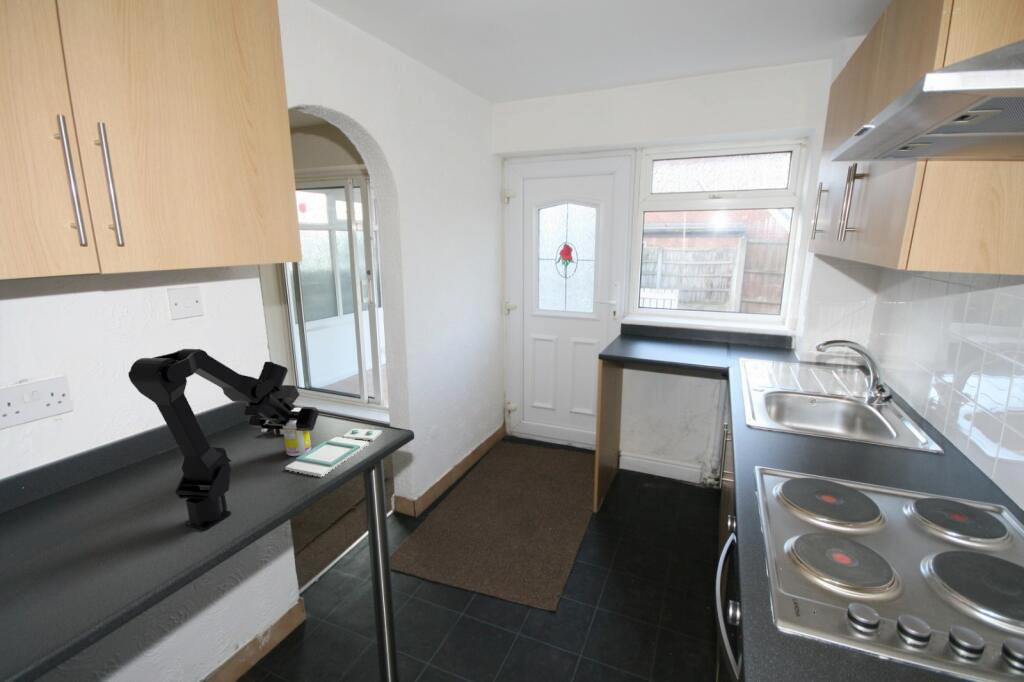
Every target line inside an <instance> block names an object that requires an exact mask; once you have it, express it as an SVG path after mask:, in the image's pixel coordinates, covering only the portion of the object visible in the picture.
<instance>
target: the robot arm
mask: <svg viewBox="0 0 1024 682" xmlns="http://www.w3.org/2000/svg"><path fill="white" fill-rule="evenodd" d="M288 372H289V369H288V368H287V367H286V366H283V365H281V364H278V363H274V362H273V361H264V364H263V366H262V370H261V372H260V374H259V377H258V378H256V377H254V376H249V375H244V374H241V373H238V372H236V371H235V370H234V369H232V368H230V367H228V366H227V365H225V364H224V363H222V362H220V361H218V360H217V359H216V358H214V357H212V356H210V355H209V354H208V352H206V351H205V350H203V349H202V348H201V349H200V348H182V349H180V350H177V351H175V352H171V353H166V354H163V355H158V356H153V357H142V358H139V359H137V360H136V361H134V362H133V364H132V365H131V366H130V369H129V371H128V372H127V373H128V378H129V381H130V383H131V384H132V385H133V386H134V387H135V388H136V389H137V391H138V392H139V393H140V394H141V395H142V396H144V397H145V398H147V399H149V400H150V401H152V402H153V403H154V404H155V405H156V407H157V409H158V411H159V412H160V415H161V416H162V418H163V420H164V421H165V423H166V425H167V427H168V429H169V431H170V432H171V435H172V437H173V438H174V440H175V442H176V444H177V446H178V447H179V450H180V451H181V454H183V460H182V464H181V470H182V474H183V475H182V477H181V479H180V481H179V483H178V485H177V488H176V490H175V495H176V496H177V497H178V499H185V504H186V510H187V515H188V520H187V521H185V523H184V524H185V525H186V526H189V527H193V528H197V529H200V530H208V529H210V528H211V527H213V526H215V525H216V524H218V523H220V522H221V521H222V520H224V519H226V518H227V517H229V516H231V515H232V511H231V510H227V509H228V505H227V500H226V493H227V492H228V491H229V489H230V482H231V481H230V480H231V474H232V473H231V471H232V469H231V465H230V462H231V461H232V460H231V459H230V458H229V457H228V455H227V451H226V449H225V448H224V447H219V446H217V447H216V446H211V445H210V443H209V441H208V439H207V437H206V435H205V433H204V431H203V429H202V427H201V425H200V423H199V421H198V419H197V416H196V414H195V413H194V411H193V409H192V407H191V405H190V403H189V400H188V399H187V396H186V395H185V392H186V391H185V390H186V386H187V382H188V381H187V378H189V377H191V376H193V375H195V374H196V375H197V376H199V377H201V378H203V379H205V380H206V381H209V382H210V383H212V384H214V385H216V386H217V387H219V388H221V389H222V392H223V395H225V396H226V397H227V398H228V399H229V400H230V401H232V402H234V403H246V405H245V407H244V412H243V413H244V416H246V417H247V416H249V419H248V426H250V427H251V428H254V429H261V430H262V429H282V430H283V426H286V424H287V423H289V420H297V421H296V428H297V429H296V431H309V432H311V431H313V430H314V428H315V425H316V422H317V419H318V417H319V414H320V411H319V409H318V408H316V407H315V406H313V407H312V406H303V407H300V408H301V410H300V411H299V412H296V411H292V410H294V408H296V407H295V406H296V405H295V404H294V403H295V402H296V401H297V399H298V398H299V397H300V392H299V390H298V389H297V387H296V385H291V384H289V385H288V384H284V382H285V379H286V377H287V374H288Z"/></svg>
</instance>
